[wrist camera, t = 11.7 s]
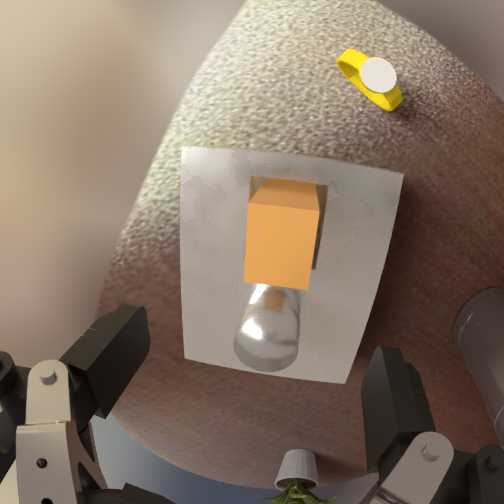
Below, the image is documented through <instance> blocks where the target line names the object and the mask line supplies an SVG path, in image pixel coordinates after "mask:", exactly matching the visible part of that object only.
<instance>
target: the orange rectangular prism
mask: <svg viewBox="0 0 504 504" xmlns="http://www.w3.org/2000/svg"><path fill="white" fill-rule="evenodd" d="M318 219H319V204H318V198H317V192H316V186H315V183H308V182H300V181H293V180H285V179H277V178H267V179H266V180H265V182H264V183H263V184H262V185H261V187H260V188H259V189H258V191H257V192H256V193H255V195H254V196H253V197H252V199H251V200H250V201H249V203H248V214H247V230H246V247H245V264H244V281H243V282H250V283H258V284H265V285H273V286H280V287H288V288H296V289H304V290H308V285H309V279H310V273H311V266H312V260H313V254H314V247H315V240H316V233H317V226H318Z"/></svg>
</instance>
